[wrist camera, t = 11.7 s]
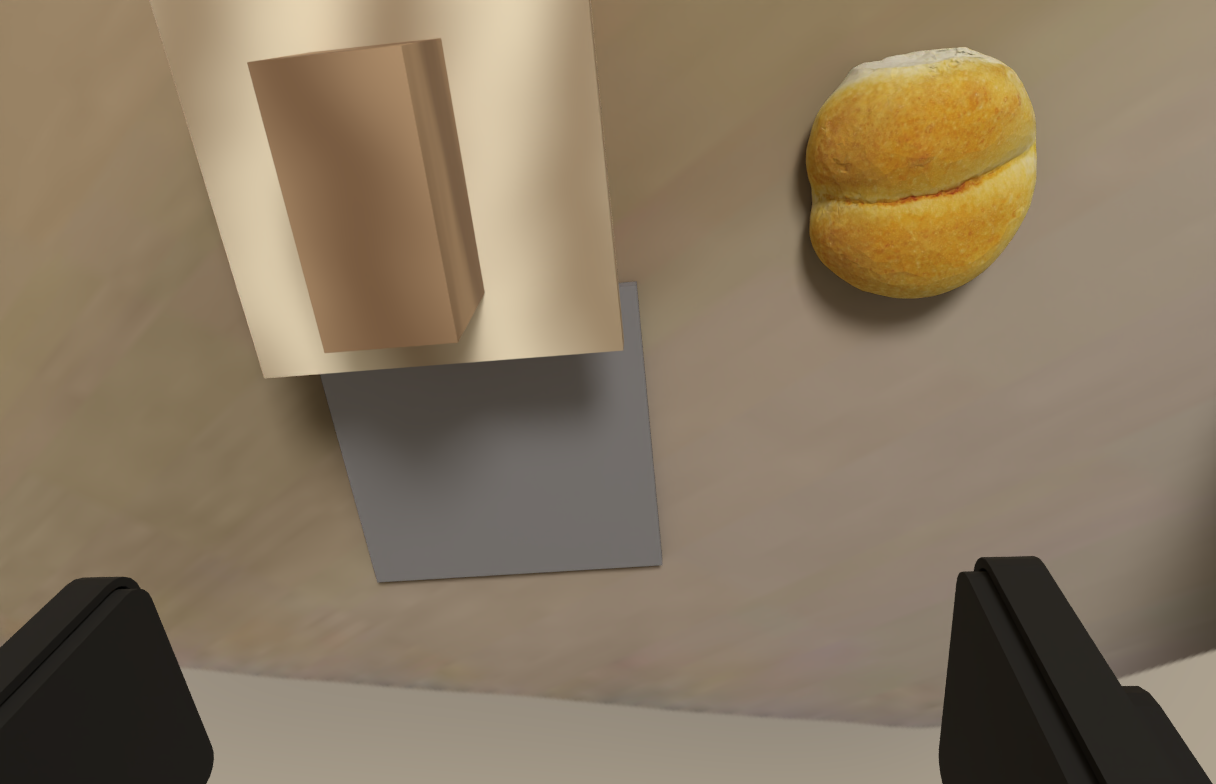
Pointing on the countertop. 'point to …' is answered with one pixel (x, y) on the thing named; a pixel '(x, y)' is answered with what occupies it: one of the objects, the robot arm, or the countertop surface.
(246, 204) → the birch lid
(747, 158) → the countertop surface
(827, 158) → the bread roll
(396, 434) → the rubber mat
